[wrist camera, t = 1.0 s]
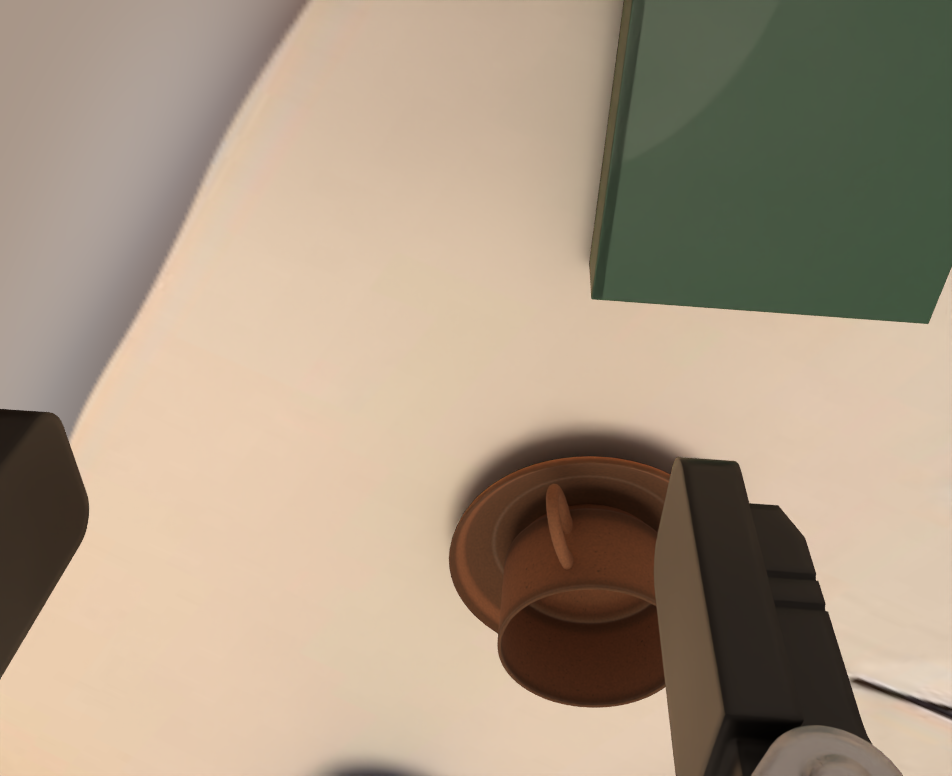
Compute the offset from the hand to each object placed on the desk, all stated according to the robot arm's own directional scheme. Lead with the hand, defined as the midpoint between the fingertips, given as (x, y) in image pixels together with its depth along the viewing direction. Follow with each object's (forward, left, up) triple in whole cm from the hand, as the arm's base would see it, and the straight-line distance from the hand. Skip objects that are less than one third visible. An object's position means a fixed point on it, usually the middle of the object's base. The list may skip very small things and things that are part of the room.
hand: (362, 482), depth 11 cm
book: (-1, +10, -19) cm, 22 cm away
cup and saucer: (+20, +6, -19) cm, 28 cm away
